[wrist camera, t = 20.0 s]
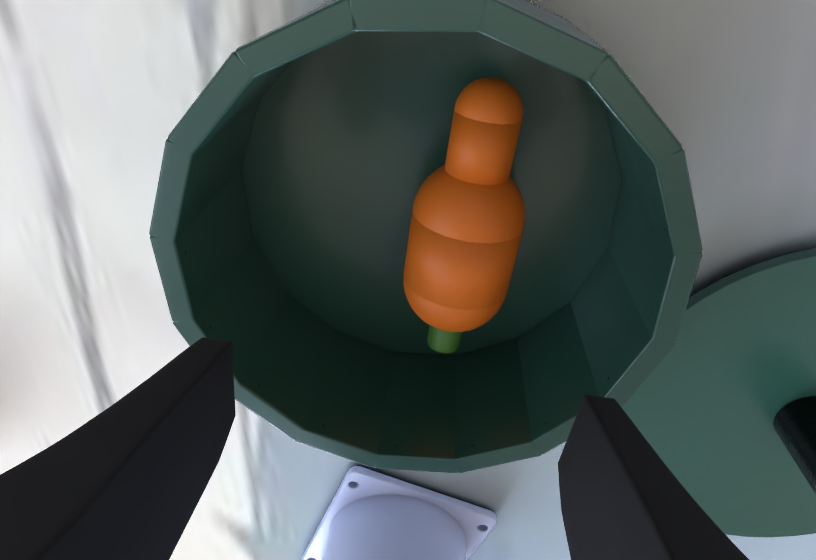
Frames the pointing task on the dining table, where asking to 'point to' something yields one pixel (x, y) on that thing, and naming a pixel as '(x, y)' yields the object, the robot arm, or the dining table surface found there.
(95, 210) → the dining table surface
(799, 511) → the pot lid
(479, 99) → the carrot
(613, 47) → the dining table surface
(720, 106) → the dining table surface
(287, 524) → the dining table surface
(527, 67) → the pot
